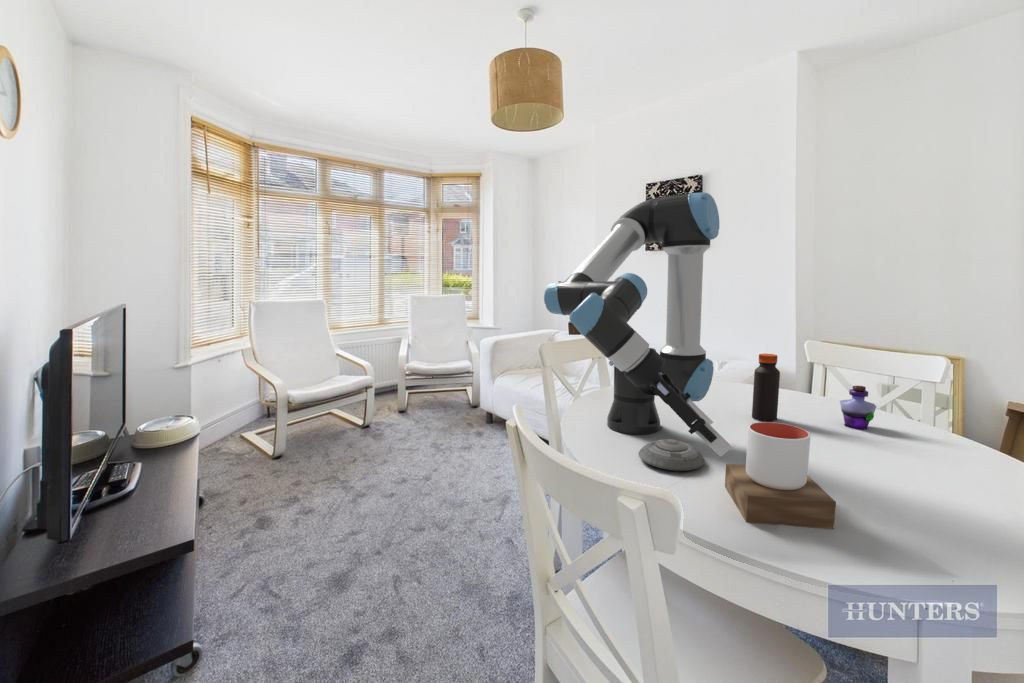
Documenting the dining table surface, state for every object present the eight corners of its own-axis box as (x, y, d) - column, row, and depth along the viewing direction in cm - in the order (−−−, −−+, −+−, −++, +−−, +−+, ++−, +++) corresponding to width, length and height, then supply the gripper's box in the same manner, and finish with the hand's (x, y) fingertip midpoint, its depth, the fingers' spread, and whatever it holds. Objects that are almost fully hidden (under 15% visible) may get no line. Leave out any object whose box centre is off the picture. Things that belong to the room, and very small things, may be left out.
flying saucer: (699, 481, 97) (700, 457, 96) (630, 467, 104) (631, 444, 104) (709, 457, 109) (710, 436, 108) (647, 446, 117) (648, 426, 116)
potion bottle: (870, 433, 123) (874, 391, 121) (833, 426, 130) (836, 385, 128) (878, 426, 128) (882, 386, 127) (842, 420, 135) (845, 381, 133)
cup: (816, 495, 79) (820, 441, 77) (755, 490, 81) (758, 437, 79) (793, 471, 88) (796, 423, 87) (738, 468, 90) (741, 420, 89)
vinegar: (781, 422, 134) (786, 356, 131) (758, 422, 134) (763, 356, 131) (769, 415, 141) (773, 352, 138) (747, 415, 141) (751, 353, 138)
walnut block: (724, 486, 93) (726, 463, 93) (798, 491, 91) (800, 468, 90) (746, 521, 80) (747, 495, 79) (833, 529, 77) (836, 501, 76)
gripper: (619, 360, 99) (688, 428, 98) (626, 389, 75) (717, 478, 74) (644, 337, 97) (715, 406, 97) (659, 358, 73) (753, 450, 72)
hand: (716, 437), depth 85 cm, fingers open, 13 cm apart
